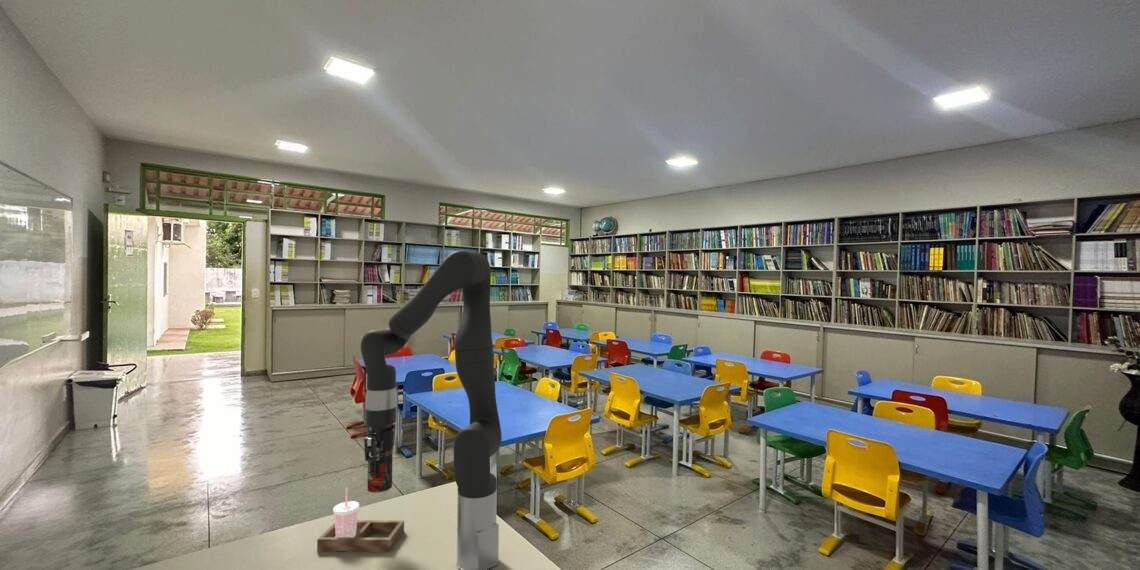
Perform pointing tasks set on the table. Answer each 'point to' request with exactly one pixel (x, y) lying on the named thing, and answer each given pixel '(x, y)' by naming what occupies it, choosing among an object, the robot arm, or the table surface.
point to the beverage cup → (346, 518)
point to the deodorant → (382, 464)
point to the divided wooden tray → (363, 537)
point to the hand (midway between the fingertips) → (380, 469)
